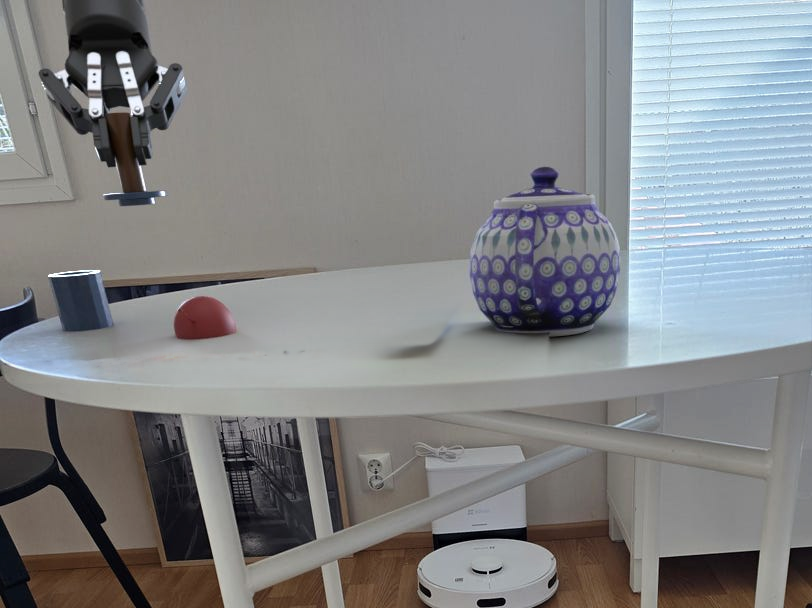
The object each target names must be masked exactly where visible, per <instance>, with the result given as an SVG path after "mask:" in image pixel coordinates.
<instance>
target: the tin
mask: <svg viewBox="0 0 812 608" xmlns="http://www.w3.org/2000/svg"><path fill="white" fill-rule="evenodd" d="M47 278H48V282H49V285H50V289H51V292H52V296H53V300H54V303H55V308H56V310H57V314H58V317H59V321H60V324H61V328H62V331H63V332H87V331H94V330H102V329H105V328H110V327H112V326H114V319H113V316H112V313H111V309H110V304H109V300H108V296H107V293H106V288H105V285H104V280H103V277H102V273H101V270H98V269H97V270H95V269H94V270H91V269H89V270H77V271H76V270H75V271H66V272H59V273H53V274H49V275H48V276H47Z"/></svg>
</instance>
